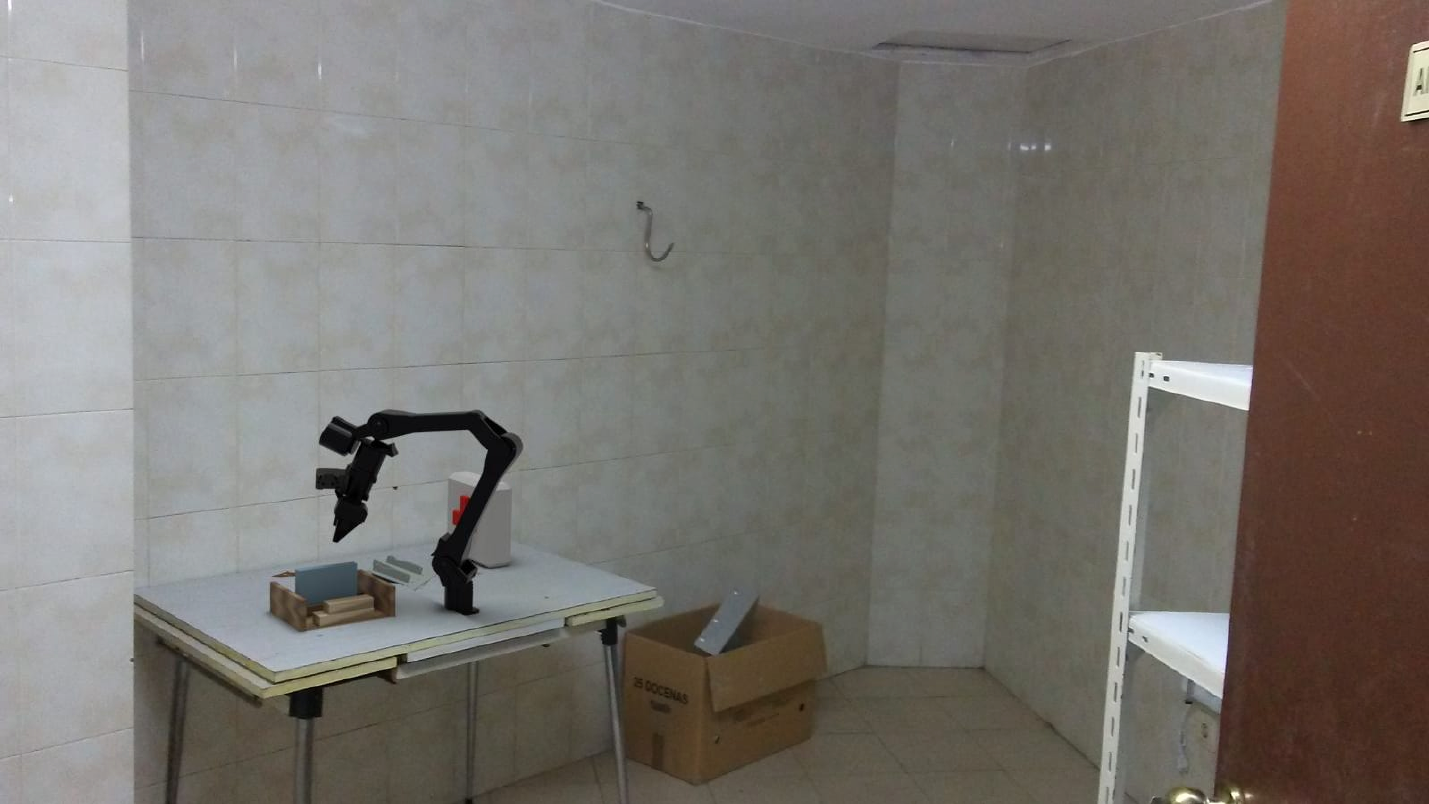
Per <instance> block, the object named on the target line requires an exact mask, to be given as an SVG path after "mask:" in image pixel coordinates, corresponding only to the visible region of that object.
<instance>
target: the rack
mask: <svg viewBox="0 0 1429 804" xmlns="http://www.w3.org/2000/svg"><path fill="white" fill-rule="evenodd" d="M396 587H397V586H395V585H393V584H391V583H389V582H387V581H385V580H384V579H381V578H380V577H379V576H377V575H372V574H371V573H370V572H367V571H366V570H364V569H361V568H360V569H357V596H359V595H366V594H367V595H369V596H371V597H373V598H374V618H370V619H364V620H358V621H352V622H346V623H340V624H335V625H329V626H323V627H319V626H317V625H316V624H314V623H313V622H312V620H313V612H318V611H323V603H320V604H314V605H307V600H306V599H304V598H302V597H301V596H299V595H297V594H296V593H295V591H292V590H290V589H289V588H287V587H285V586H284V585H282V584H281V583H279V582H278V581H275V580H273V581H270V582H269V612H270V613H272V615H274V616H275V617H277V618H278V619H281V620H282V621H283V622H285V623H287V624H289V626H291V627H292V628H294V629H295V630H297V631H299V632H300V633H304V632H310V631H315V630H316V631H317V630H321V629H328V628H333V627H339V626H344V625H351V624H356V623H363V622H369V621H374V620H381V619H386V618H392V617H396V593H397V592H396Z"/></svg>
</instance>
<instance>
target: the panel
mask: <svg viewBox="0 0 1429 804" xmlns="http://www.w3.org/2000/svg"><path fill="white" fill-rule="evenodd" d="M357 570H358V562H356V561H353V560H352V561H346V562H339V563H331V564H323V565H322V564H321V565H316V566H314V565H313V566H308V567H302V568H301V567H300V568H295V569H294V573H295V577H294V580H295V581H294V588H295V589H294V593H296V594H297V595H299V596H301V597H302V598H304V599H306V600H307V605H314V604H320V603H323V601H327V600H333V599H340V598H346V597H353V596H357Z"/></svg>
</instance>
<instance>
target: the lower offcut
mask: <svg viewBox="0 0 1429 804" xmlns="http://www.w3.org/2000/svg"><path fill="white" fill-rule="evenodd" d="M370 618H374V608H369V609H362V610H356V611H350V612H344V613H338V614H332V615H329V614H327V613H325V612H324V611H318V612H313V620H312V622H313V623H314V624H316V625H317V626H319V627H323V626H329V625H335V624H340V623H346V622H352V621H358V620H364V619H370Z"/></svg>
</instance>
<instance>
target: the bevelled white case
mask: <svg viewBox="0 0 1429 804" xmlns="http://www.w3.org/2000/svg"><path fill="white" fill-rule="evenodd" d="M481 475H482V474H478V473H475V472H472V471H459V472H458V471H456V472H454V471H453V472H452V473H451V474H450V475H449V476H448V477H447V518H446V519H447V520H446V521H447V523H446V524H447V525H446V533H447V532H448V533H450V534H452V533H453V531H454V529H455V527H456V525H457V523H458V521H459V519H460V517H461V515H462V513H463V511H464V509H465V507H466V505H467V503H468V501H469V499H470V497H471V495H472V493H473V491H474V489H475V487H476V485H477V483H478V481H479V479H480V477H481ZM512 494H513V487H511V485H509V484H508V483H507V482H503V481H500V483H499V485H498V487H497V489H496V491H495V493H494V495H493V497H492V499H491V501H490V503H489V505H488V507H487V509H486V511H485V513H484V515H483V517H482V519H481V521H480V523H479V525H478V527H477V529H476V531H475V533H474V535H473V538H472V543H471V549H470V552H469V556H468V558H469V559H470V560H471V561H472V560H473V562H474V561H475V563H477V564H480V565H481V566H483V565H484V566H483V567H486V568H488V569H492V568H500V567H506V566H507V565H508V563H509V562H510V561H511V553H512V552H511V551H512V550H511V545H512V543H511V541H512V538H511V537H512V505H513V502H512V501H513V500H512V499H513V498H512V497H513V495H512Z"/></svg>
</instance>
